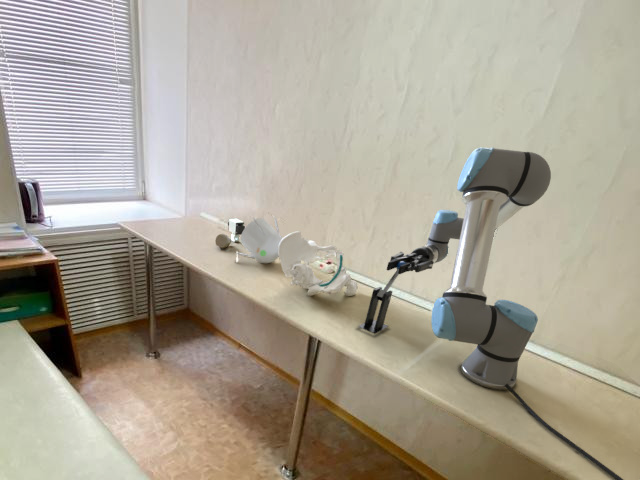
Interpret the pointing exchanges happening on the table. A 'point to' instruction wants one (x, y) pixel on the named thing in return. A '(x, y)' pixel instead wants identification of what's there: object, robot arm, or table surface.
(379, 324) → the lever stand
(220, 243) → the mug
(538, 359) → the table surface
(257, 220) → the satellite
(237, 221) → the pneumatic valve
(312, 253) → the pelvis
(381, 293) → the tap lever
